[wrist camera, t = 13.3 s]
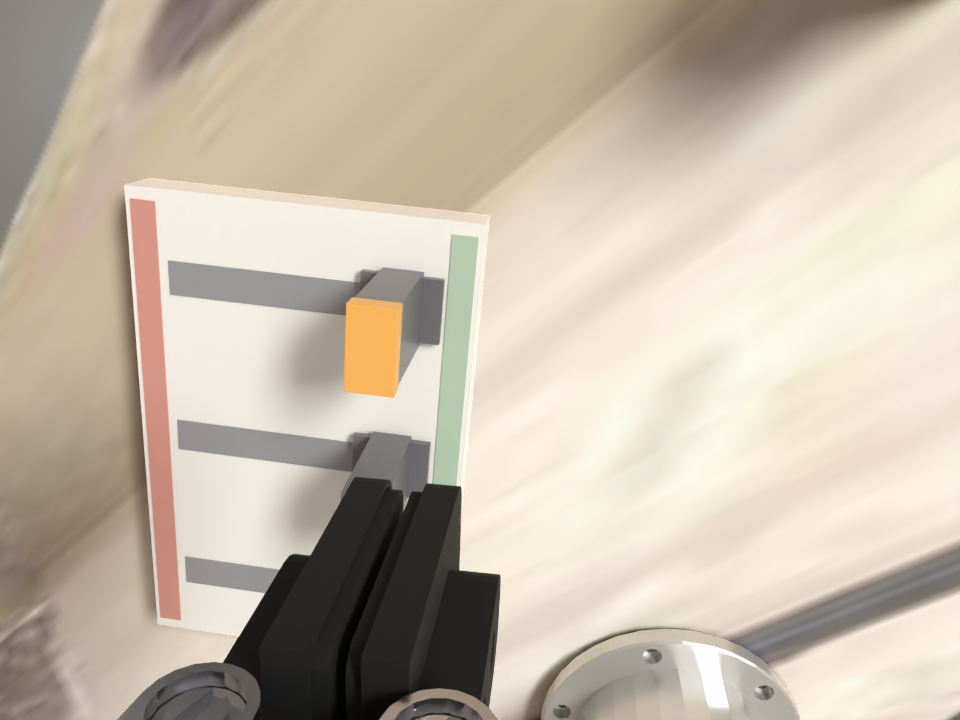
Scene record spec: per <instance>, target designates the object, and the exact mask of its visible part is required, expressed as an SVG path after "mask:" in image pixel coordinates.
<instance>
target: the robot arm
mask: <svg viewBox="0 0 960 720" xmlns="http://www.w3.org/2000/svg"><path fill="white" fill-rule="evenodd" d="M461 504H462V489H461V486H452V485H441V484H430V483H426V485H425V487H424V489H423V492H417V491H412V492H411V494H410V496H409V499H408V501H407V504H406V506H405V509H404V511H403V508H404V498H403V491H402V490H395V489H392V484H391V481H390V480H386V479H375V478H364V477H355V478H354V479H353V480H352V482H351V484H350V486H349V487H348V489H347V491H346V493H345V495H344V496H343V498H342V500H341V502H340V503H339V505H338V507H337V509H336V511H335V512H334V514H333V516H332V518H331V519H330V521H329V523H328V525H327V527H326V528H325V530H324V532H323V534H322V536H321V537H320V539H319V541H318V543H317V544H316V546H315V548H314V550H313V552H312V553H311V555H301V554H292V555H289V557H288V558H287V559H286V560H285V562H284V563H283V565H282V567H281V568H280V570H279V571H278V573H277V575H276V576H275V578H274V580H273V581H272V583H271V585H270V586H269V588H268V590H267V591H266V593H265V595H264V596H263V598H262V599H261V601H260V603H259V604H258V606H257V608H256V609H255V611H254V613H253V614H252V616H251V618H250V619H249V621H248V622H247V624H246V626H245V627H244V629H243V631H242V632H241V634H240V636H239V637H238V639H237V641H236V642H235V644H234V645H233V647H232V649H231V650H230V652H229V654H228V655H227V657H226V659H225V660H224V662H223V663H217V662H210V663H201V664H193V665H190V666H187V667H184V668H181V669H177V670H175V671H173V672H171V673H169V674H167V675H165V676H164V677H162V678H160V679H158V680H157V681H155V682H154V683H153V684H152V685H151V686H150V687H148V688H147V689H146V690H145V691H144V692H143V693H142V694H141V695H140V696H139V697H138V698H137V699H136V700H135V701H134V702H133V703H132V704H131V705H130V707H129V708H128V709H127V710H126V711H125V712H124V713H123V714H122V715H121V716H120V717H119V718H118V719H117V720H497V718H496V717H495V716H494V714H493V713H492V711H491V710H490V709H489V702H490V695H491V687H492V680H493V672H494V663H495V654H496V643H497V631H498V617H499V600H500V575H498V574H488V573H478V572H468V571H459V558H460V531H461ZM541 720H800V718H799V714H798V711H797V709H796V706H795V704H794V701H793V699H792V696H791V694H790V692H789V690H788V689H787V687H786V686H785V684H784V683H783V681H782V680H781V678H780V677H779V676H778V674H777V673H776V672H775V671H774V670H772V669H771V668H770V667H769V666H768V665H767V664H766V663H765V662H764V661H763V660H762V659H761V658H759V657H757V656H756V655H754V654H753V653H751V652H750V651H748V650H746V649H745V648H743V647H742V646H739V645H737V644H735V643H732V642H730V641H728V640H725V639H723V638H720V637H718V636H713V635H709V634H705V633H701V632H697V631H691V630H679V629H654V630H641V631H637V632H632V633H628V634H624V635H619V636H616V637H613V638H611V639H609V640H606V641H604V642H601V643H599V644H596V645H594V646H593V647H591V648H590V649H588V650H586V651H585V652H583V653H582V654H580V655H579V656H577V657H575V658H574V659H573V660H572V661H571V662H570V663H569V664H568V665H567V666H566V667H565V668H564V669H563V670H562V671H561V672H560V673H559V674H558V676H557V677H556V679H555V680H554V682H553V683H552V685H551V686H550V688H549V690H548V692H547V695H546V698H545V700H544V703H543V706H542V712H541Z"/></svg>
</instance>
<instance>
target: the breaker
mask: <svg viewBox="0 0 960 720" xmlns="http://www.w3.org/2000/svg"><path fill="white" fill-rule="evenodd" d="M430 447H431V442H427V441H419V440H412V436H406V435H398V434H390V433H382V432H375V431H374V432H373V434H365V433H358V432H355V433H354V435H353V460H352V473H351V475H350V477H349V479H348V480H347V482H346V484H345V486H344V488H343V490H342V492H341V500H342V498H343V496H344V495H345V493H346V491H347V489H348V487H349V486H350V484H351V482H352V480H353V479H354V478H355V477H364V478H375V479H386V480H390V481H391V484H392V489H395V490H402V491H403V498H404V508H405V505H406V502H407V499H408V498H409V496H410V494H411V492H412V491H417V492H423V489H424V487H425V485H426V483H428V474H429V461H430ZM341 500H340V502H341ZM404 508H403V510H404Z"/></svg>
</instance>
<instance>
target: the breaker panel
mask: <svg viewBox="0 0 960 720" xmlns="http://www.w3.org/2000/svg"><path fill="white" fill-rule="evenodd" d="M124 188H125V201H126V214H127V227H128V241H129V254H130V267H131V280H132V293H133V306H134V320H135V333H136V346H137V359H138V372H139V385H140V399H141V412H142V425H143V438H144V451H145V464H146V478H147V491H148V504H149V517H150V530H151V543H152V557H153V570H154V583H155V596H156V609H157V623H158V625H164V626H171V627H178V628H185V629H191V630H198V631H205V632H211V633H218V634H225V635H232V636H238V637H239V636H240V634H241V632H242V631H243V629H244V627H245V626H246V624H247V622H248V621H249V619H250V618H251V616H252V614H253V613H254V611H255V609H256V608H257V606H258V604H259V603H260V601H261V599H262V598H263V596H264V595H265V593H266V591H267V590H268V588H269V586H270V585H271V583H272V581H273V580H274V578H275V576H276V575H277V573H278V571H279V570H280V568H281V567H282V565H283V563H284V562H285V560H286V559H287V558H288V557H289V555H292V554H301V555H311V553H312V552H313V550H314V548H315V546H316V544H317V543H318V541H319V539H320V537H321V536H322V534H323V532H324V530H325V528H326V527H327V525H328V523H329V521H330V519H331V518H332V516H333V514H334V512H335V511H336V509H337V507H338V505H339V503H340V500H341V492H342V490H343V488H344V486H345V484H346V482H347V480H348V479H349V477H350V475H351V473H352V460H353V435H354V433H355V432H358V433H365V434H373V432H374V431H375V432H382V433H390V434H398V435H406V436H412V440H419V441H427V442H431V447H430V461H429V474H428V483H430V484H441V485H452V486H461V489H462V504H461V519H462V508H463V498H464V487H465V477H466V466H467V456H468V445H469V434H470V424H471V413H472V403H473V392H474V382H475V371H476V361H477V350H478V339H479V329H480V318H481V308H482V297H483V287H484V276H485V265H486V255H487V244H488V234H489V223H490V215H486V214H477V213H468V212H459V211H450V210H441V209H432V208H422V207H413V206H404V205H395V204H386V203H377V202H368V201H359V200H349V199H340V198H331V197H322V196H313V195H304V194H295V193H286V192H276V191H267V190H258V189H249V188H240V187H231V186H222V185H213V184H203V183H194V182H185V181H176V180H167V179H158V178H147V179H143V180H140V181H136V182H132V183H128V184H124ZM382 267H385V268H394V269H403V270H412V271H420V272H424V276H425V277H434V278H443V279H445V284H444V298H443V311H442V324H441V337H440V344H439V345H433V344H425V343H419V347H418V349H417V351H416V353H415V355H414V357H413V359H412V360H411V362H410V364H409V366H408V368H407V370H406V372H405V374H404V375H403V377H402V379H401V381H400V383H399V385H398V391H397V393H396V395H395V397H394V398H390V397H382V396H374V395H366V394H358V393H350V392H344V365H345V330H346V303H347V302H348V301H349V300H350V299H351V298H352V297H356V295H357V294H358V293H359V292H360V277H361V270H362V269H365V270H373V271H380V270H381V269H382ZM408 499H409V498H408ZM408 499H407V501H408ZM406 504H407V502H406ZM405 506H406V505H405ZM404 509H405V508H404ZM403 511H404V510H403Z"/></svg>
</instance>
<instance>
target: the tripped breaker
mask: <svg viewBox="0 0 960 720" xmlns="http://www.w3.org/2000/svg"><path fill="white" fill-rule="evenodd" d="M444 284H445V279H443V278H434V277H425V276H424V272H420V271H412V270H403V269H394V268H385V267H382V269H381V270H380V271H373V270H365V269H362V270H361V277H360V292H359V293H358V294H357V295H356V297H352V298H351V299H350V300H349V301H348V302H347V303H346V330H345V365H344V392H350V393H358V394H366V395H374V396H382V397H390V398H394V397H395V395H396V393H397V391H398V385H399V383H400V381H401V379H402V377H403V375H404V374H405V372H406V370H407V368H408V366H409V364H410V362H411V360H412V359H413V357H414V355H415V353H416V351H417V349H418V347H419V343H425V344H433V345H439V344H440V337H441V324H442V311H443V298H444Z"/></svg>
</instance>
